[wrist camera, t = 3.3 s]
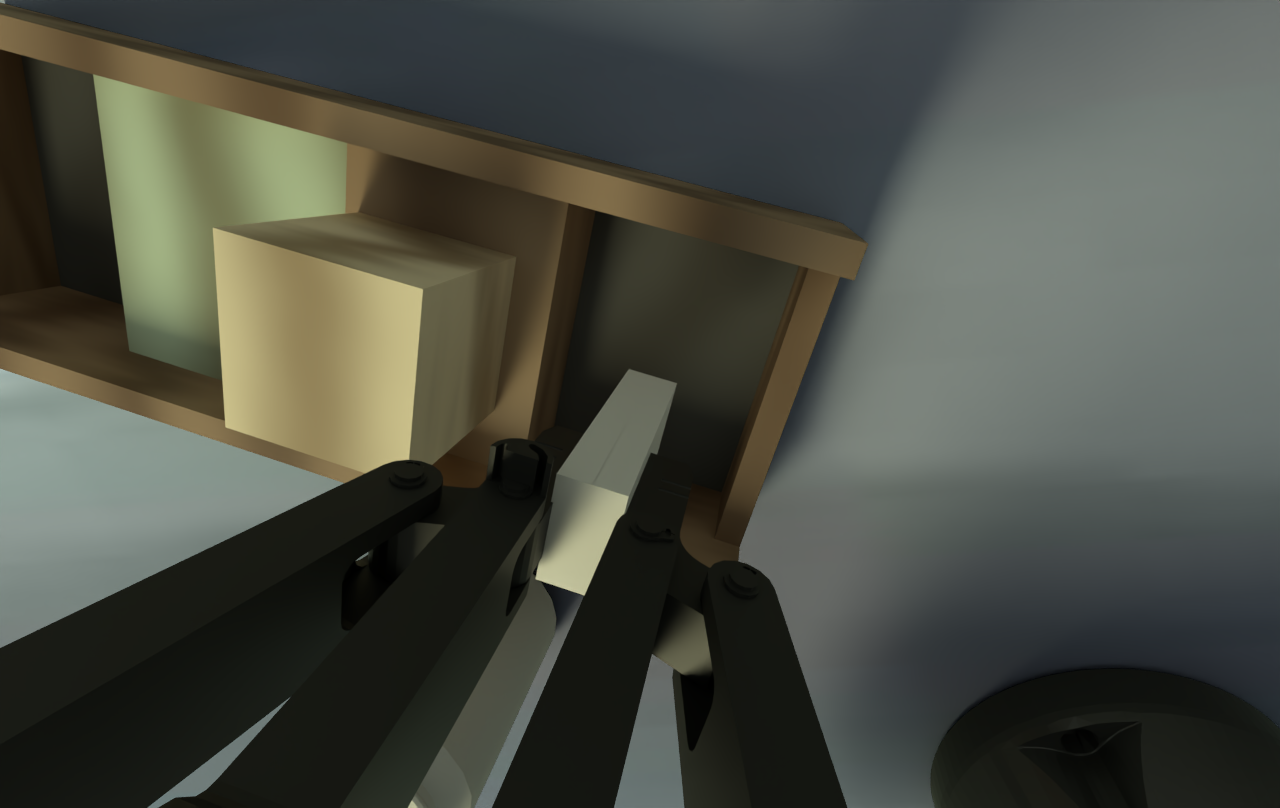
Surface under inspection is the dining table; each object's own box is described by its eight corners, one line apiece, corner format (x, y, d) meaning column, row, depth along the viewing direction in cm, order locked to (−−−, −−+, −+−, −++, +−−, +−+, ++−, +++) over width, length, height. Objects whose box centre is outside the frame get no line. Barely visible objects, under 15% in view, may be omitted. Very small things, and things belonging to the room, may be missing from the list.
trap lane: (842, 223, 22) (868, 244, 16) (737, 512, 27) (727, 610, 21) (3, 3, 25) (-234, -48, 19) (55, 297, 30) (-118, 329, 24)
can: (408, 548, 32) (218, 748, 21) (531, 526, 30) (390, 736, 19) (463, 658, 34) (317, 890, 23) (581, 644, 32) (482, 895, 21)
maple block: (516, 256, 20) (422, 289, 15) (494, 410, 23) (406, 487, 17) (358, 212, 21) (212, 227, 16) (352, 366, 23) (225, 427, 18)
